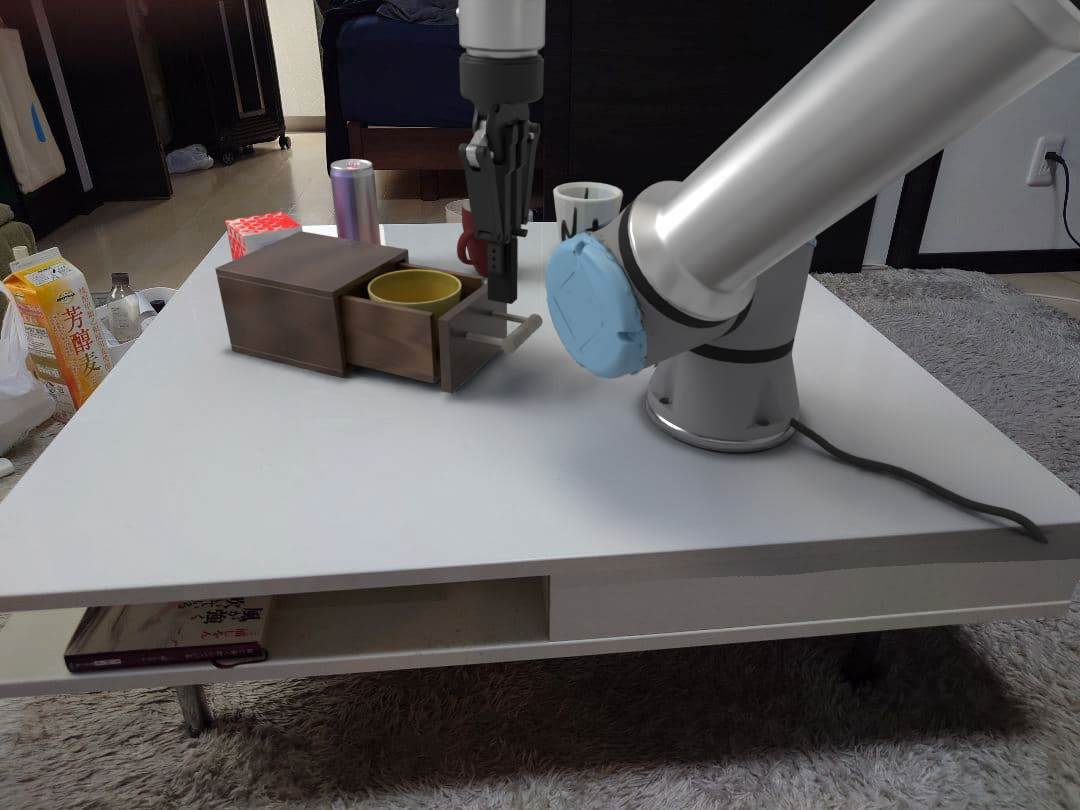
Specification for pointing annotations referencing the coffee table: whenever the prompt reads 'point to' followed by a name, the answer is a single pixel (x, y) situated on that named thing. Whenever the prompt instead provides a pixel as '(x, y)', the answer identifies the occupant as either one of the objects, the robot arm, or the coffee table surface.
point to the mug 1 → (471, 244)
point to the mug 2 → (585, 207)
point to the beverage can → (355, 200)
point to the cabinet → (298, 297)
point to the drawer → (429, 332)
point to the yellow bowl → (418, 292)
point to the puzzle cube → (258, 232)
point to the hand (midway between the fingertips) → (502, 299)
